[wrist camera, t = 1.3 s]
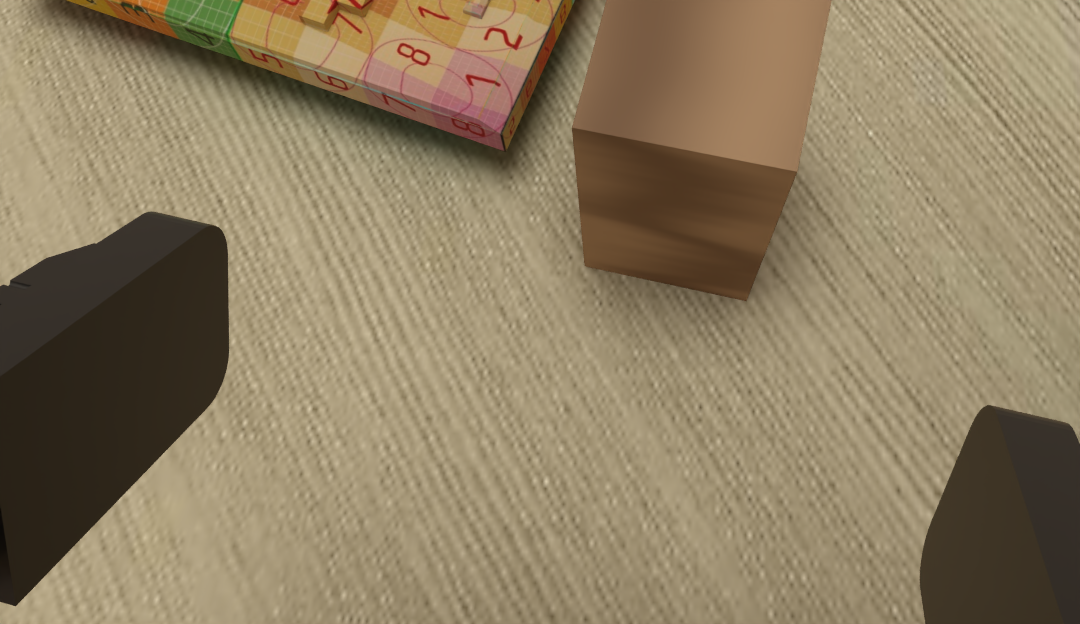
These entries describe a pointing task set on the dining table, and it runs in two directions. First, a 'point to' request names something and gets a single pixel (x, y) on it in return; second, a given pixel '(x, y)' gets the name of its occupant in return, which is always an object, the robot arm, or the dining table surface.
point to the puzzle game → (382, 50)
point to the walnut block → (693, 135)
